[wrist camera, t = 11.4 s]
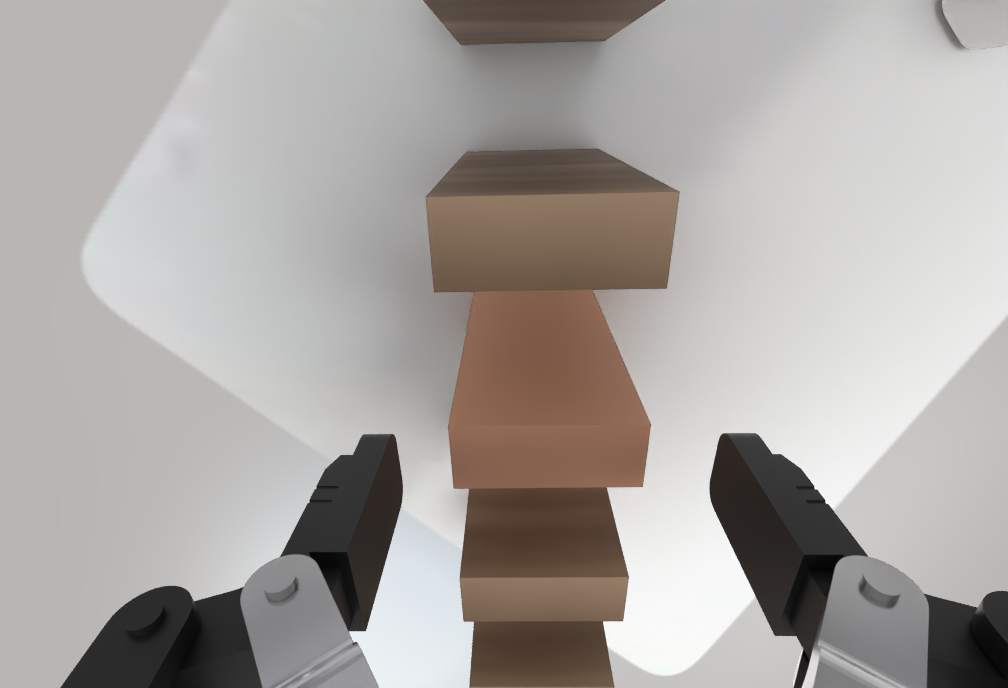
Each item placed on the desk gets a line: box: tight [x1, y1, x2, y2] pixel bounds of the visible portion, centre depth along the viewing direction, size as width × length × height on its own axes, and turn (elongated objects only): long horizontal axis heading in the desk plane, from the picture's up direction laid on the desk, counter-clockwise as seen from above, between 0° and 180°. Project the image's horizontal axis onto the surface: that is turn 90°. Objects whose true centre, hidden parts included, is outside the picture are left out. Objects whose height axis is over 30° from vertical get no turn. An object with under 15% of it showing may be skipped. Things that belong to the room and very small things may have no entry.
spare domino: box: [448, 290, 651, 489], centre depth 17 cm, size 2×5×10 cm, turn 91°
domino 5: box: [470, 621, 614, 688], centre depth 22 cm, size 2×5×10 cm, turn 91°
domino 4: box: [460, 487, 629, 622], centre depth 19 cm, size 2×5×10 cm, turn 91°
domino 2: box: [426, 149, 680, 292], centre depth 15 cm, size 2×5×10 cm, turn 91°
